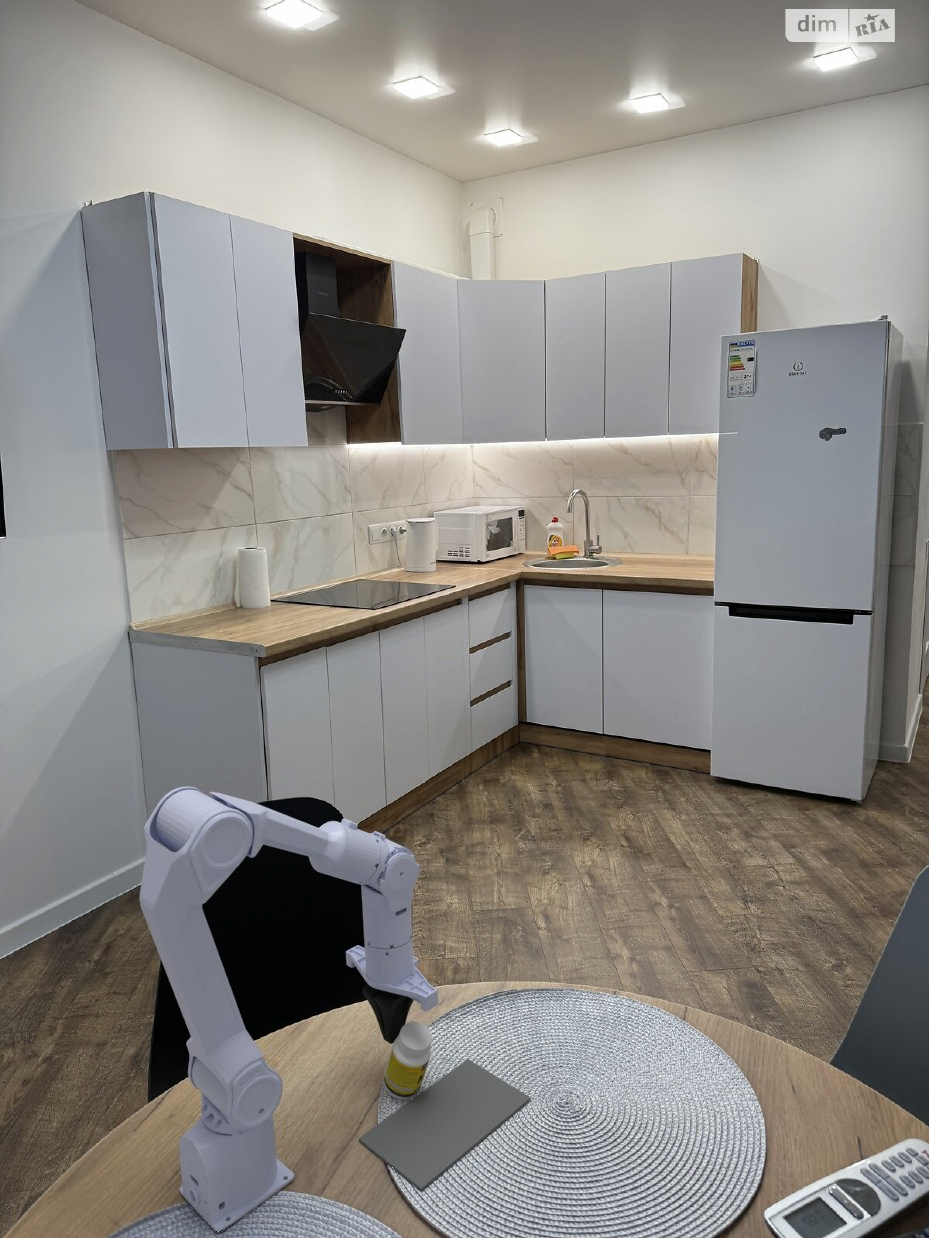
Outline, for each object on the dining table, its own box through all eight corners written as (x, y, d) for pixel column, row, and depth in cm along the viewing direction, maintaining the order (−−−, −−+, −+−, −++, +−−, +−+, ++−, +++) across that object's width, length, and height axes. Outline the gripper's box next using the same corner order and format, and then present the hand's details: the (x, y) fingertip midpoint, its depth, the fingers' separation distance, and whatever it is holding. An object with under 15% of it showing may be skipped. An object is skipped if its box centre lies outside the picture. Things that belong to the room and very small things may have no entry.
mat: (421, 1191, 94) (421, 1188, 94) (358, 1141, 101) (358, 1138, 101) (530, 1100, 106) (530, 1097, 106) (468, 1061, 114) (468, 1058, 114)
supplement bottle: (418, 1104, 107) (434, 1056, 103) (380, 1096, 107) (394, 1048, 103) (422, 1069, 111) (437, 1022, 108) (385, 1061, 111) (399, 1014, 108)
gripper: (454, 943, 104) (458, 1047, 107) (374, 903, 114) (379, 999, 116) (410, 970, 99) (415, 1077, 102) (330, 925, 109) (336, 1024, 112)
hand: (393, 1037), depth 109 cm, fingers closed
